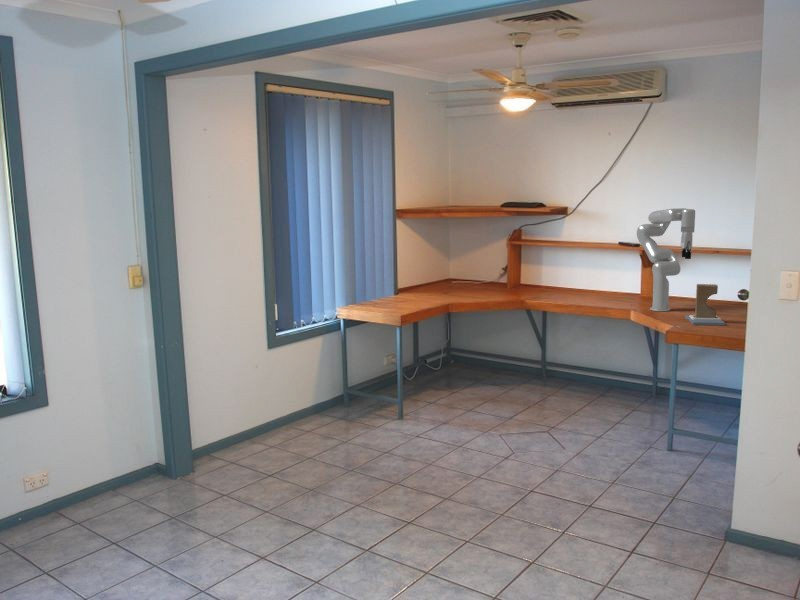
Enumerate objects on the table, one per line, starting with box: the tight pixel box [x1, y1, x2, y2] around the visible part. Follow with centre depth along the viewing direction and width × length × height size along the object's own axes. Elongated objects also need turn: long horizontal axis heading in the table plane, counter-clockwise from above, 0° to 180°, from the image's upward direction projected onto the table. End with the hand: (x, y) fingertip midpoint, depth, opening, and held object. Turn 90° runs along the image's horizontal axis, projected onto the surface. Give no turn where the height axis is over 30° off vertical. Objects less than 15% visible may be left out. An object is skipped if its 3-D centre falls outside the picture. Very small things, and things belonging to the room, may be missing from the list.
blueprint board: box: [684, 314, 726, 326], centre depth 401 cm, size 24×17×2 cm
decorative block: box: [694, 283, 719, 318], centre depth 400 cm, size 11×6×20 cm, turn 68°
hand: (686, 258), depth 413 cm, fingers open, 9 cm apart
